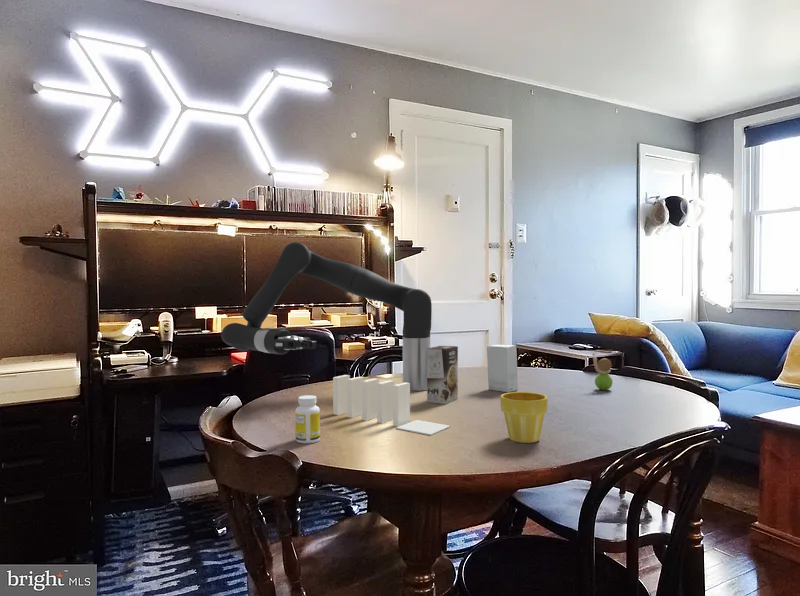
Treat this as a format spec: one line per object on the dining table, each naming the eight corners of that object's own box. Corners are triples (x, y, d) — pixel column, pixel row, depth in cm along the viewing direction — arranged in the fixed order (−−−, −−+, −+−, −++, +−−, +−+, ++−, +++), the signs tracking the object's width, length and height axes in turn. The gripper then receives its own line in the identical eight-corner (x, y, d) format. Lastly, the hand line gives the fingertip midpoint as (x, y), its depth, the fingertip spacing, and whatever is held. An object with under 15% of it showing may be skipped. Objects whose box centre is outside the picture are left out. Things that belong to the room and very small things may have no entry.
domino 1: (333, 414, 145) (333, 377, 145) (345, 410, 149) (345, 374, 149) (337, 415, 144) (337, 377, 144) (350, 411, 148) (350, 375, 148)
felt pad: (395, 428, 130) (395, 427, 130) (416, 421, 138) (416, 419, 138) (430, 435, 124) (430, 434, 124) (450, 427, 132) (450, 425, 132)
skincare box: (518, 390, 177) (518, 345, 176) (507, 393, 172) (507, 346, 172) (497, 387, 183) (497, 343, 182) (486, 389, 179) (486, 344, 178)
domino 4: (377, 422, 136) (377, 383, 136) (389, 418, 140) (389, 380, 140) (382, 423, 135) (382, 383, 135) (394, 419, 139) (394, 381, 139)
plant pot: (490, 437, 123) (490, 394, 122) (522, 430, 129) (522, 389, 128) (525, 448, 114) (525, 402, 114) (557, 440, 120) (557, 396, 120)
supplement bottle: (320, 436, 124) (319, 394, 124) (320, 443, 118) (319, 399, 118) (296, 437, 123) (295, 394, 123) (294, 444, 118) (294, 399, 117)
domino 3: (362, 419, 139) (361, 381, 139) (374, 416, 143) (374, 378, 143) (366, 420, 138) (366, 381, 138) (379, 416, 142) (378, 379, 142)
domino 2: (347, 417, 142) (347, 379, 142) (359, 413, 146) (359, 376, 146) (351, 417, 141) (351, 379, 141) (364, 414, 145) (364, 377, 145)
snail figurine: (589, 388, 179) (589, 352, 179) (607, 388, 180) (607, 352, 180) (596, 391, 174) (596, 354, 174) (615, 391, 175) (615, 354, 174)
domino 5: (393, 425, 133) (393, 385, 133) (404, 421, 137) (404, 382, 137) (398, 426, 132) (398, 386, 132) (410, 422, 136) (409, 383, 136)
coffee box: (446, 404, 156) (446, 349, 156) (426, 402, 160) (426, 347, 159) (458, 398, 164) (458, 345, 164) (439, 396, 168) (439, 344, 167)
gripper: (255, 329, 157) (296, 333, 146) (289, 327, 167) (330, 330, 157) (255, 355, 157) (296, 360, 147) (289, 351, 168) (330, 356, 157)
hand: (314, 345), depth 152 cm, fingers closed
